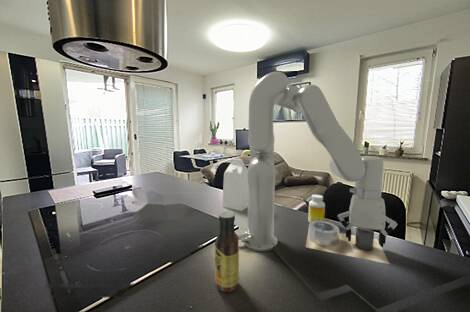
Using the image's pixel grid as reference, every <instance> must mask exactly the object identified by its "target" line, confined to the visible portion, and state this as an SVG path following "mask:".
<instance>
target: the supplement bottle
mask: <svg viewBox="0 0 470 312" xmlns="http://www.w3.org/2000/svg"><path fill="white" fill-rule="evenodd" d="M323 200H324V196H323V195H321V194H312V195H311V199H310V201H309V202H308V215H307V216H308V218H307V219H308V220H307V222H309V223H310V222H312V221H325V217H326V216H325V215H326V204H325V202H324V201H323Z"/></svg>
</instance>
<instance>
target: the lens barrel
mask: <svg viewBox="0 0 470 312" xmlns="http://www.w3.org/2000/svg"><path fill="white" fill-rule="evenodd" d="M308 230H309V232H307V236H308V237H309V240H310V241H311V242H313V243H314V244H317V245H320V246H324V247H333V246H337V244H338V243H339V233H340V227H338V225H336V224H334V223H332V222H329V221H326V220H324V221H312V222H309V223H308Z"/></svg>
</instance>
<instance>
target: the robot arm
mask: <svg viewBox="0 0 470 312" xmlns="http://www.w3.org/2000/svg"><path fill="white" fill-rule="evenodd" d="M275 106H278V107H282V108H285V109H287V110H291V111H294V112H298V113H301V114H302V117H303V118H304V120H305V122H306V123H307V126H308V128H309V130H310V132H311V134H312V135H313V137H314V138H315V140H317V142H319V143H320V144H321V145H322V146H323V147H324V148H325V150H326V151H327V153H328V154H329V156H330V157H331V160H329V169H330V171H331V172H332V174H334V175H336V176H337V177H339V178H341V180H344V181H347V182H349V183H354V187H353V188H351V187H350V188H349V193H352V195H351V196H352V197H351V199H350V204H349V210H348V211H345V212H342V213H339V214H337V218H338V221H339V222H340V223H341V225H342V226H343V227H344V228H345V234H346V237H347V238H348V241H351V235H352V228H353V227H354V228H355V227H356V228H357V227H361V228H367V229H371V230H373V231H374V230H375V231H379V232H378V241H379V244H380V246H381V247H382V248H384V245H385V244H386V240H387V236H388V234H390V233H392V232H393V231H394V230H395V229H396V227H398V223H397V221H395V220H393V219H392V218H389V217H388V216H387V215H386V204H385V199H384V198H382V192H383V191H382V190H383V189H382V188H383V174H384V159H383V158H382V157H379V156H374V155H373V156H372V155H363V156H362V155H361V154H360V152H359V150H358V148H357V147H356V145H355V143H354V142H353V140H352V139H351V137H350V136H349V135H348V134H347V133H346V131H345V130H344V128H343V127H342V126H341V124H339V122H338V120H337V118H336V116H335V114H334V112H333V110H332V108H331V106H330V104H329V101H328V100H327V98H326V96H325V95H324V93H323V91H322V89H321V88H320V87H319V86H318V85H315V84H306V85H304V86H303V87H297V86H295V85H291V84H290V81H289V79H288V76H287V75H286V74H285V73H284V72H281V71H272V72H269V73H267V74H265V75H264V76H263V77H260V79H259V80H258V81H257V82H256V84H255V85H254V87H253V88H252V90H251V94H250V97H249V102H248V137H247V142H248V143H247V144H248V146H249V165H248V167H247V169H248V171H247V184H248V207H247V228H245V229H244V231H245V232H244V231H243V232H242V233H236V234H237V236H238V241H239V240H240V242H241V243H243V244H244V246H246V247H247V249H250V250H252V251H257V252H269V251H272V250H274V249H275V248H274V247H275V246H276V245H278V241H279V239H278V238H277V237H276V236H275V235H274V233H275V231H274V230H275V228H274V227H275V187H276V186H275V185H276V167H275V133H274V108H275ZM347 217H348V220H349V221H345V219H344V218H347ZM386 222H387V224H389V225H388V226H386Z"/></svg>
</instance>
